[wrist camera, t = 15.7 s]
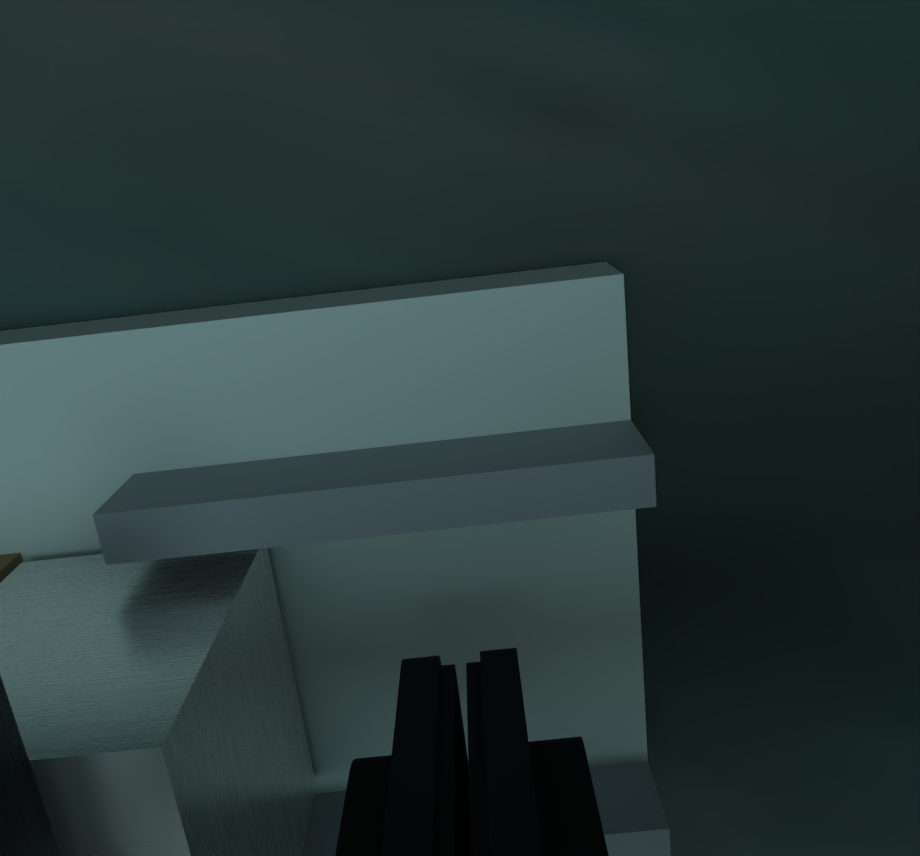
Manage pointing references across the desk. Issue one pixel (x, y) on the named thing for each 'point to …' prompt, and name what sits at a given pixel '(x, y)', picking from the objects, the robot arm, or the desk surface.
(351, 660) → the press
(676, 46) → the desk surface
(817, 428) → the desk surface
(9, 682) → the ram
